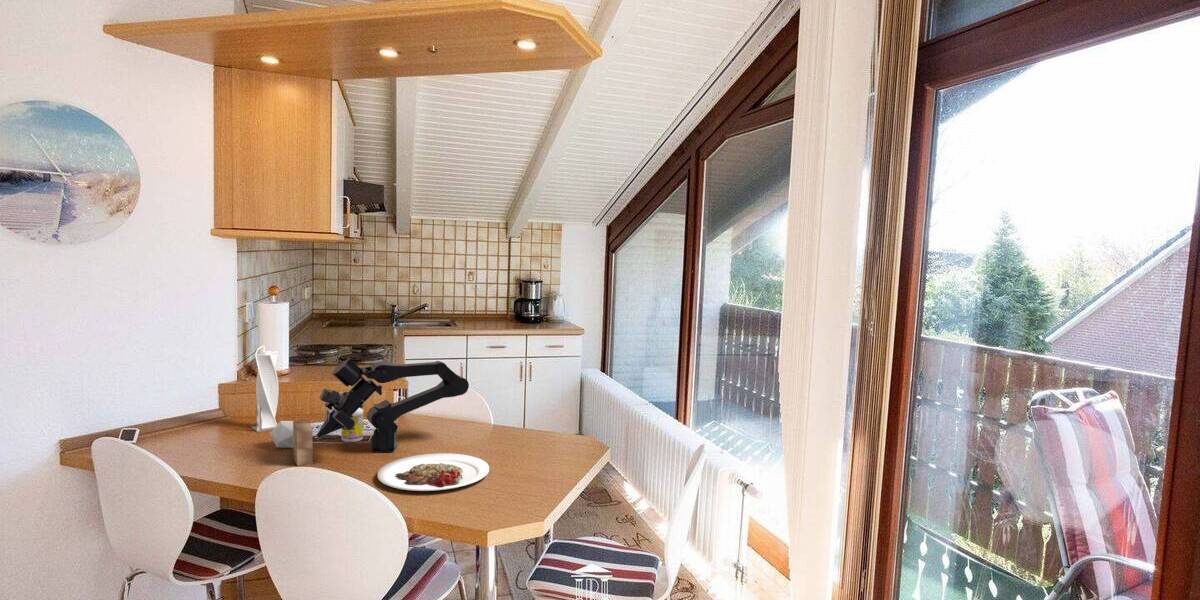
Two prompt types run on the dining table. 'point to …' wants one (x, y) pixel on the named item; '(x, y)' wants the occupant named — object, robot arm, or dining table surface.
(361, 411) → the supplement bottle
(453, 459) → the plated food
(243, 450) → the dining table surface
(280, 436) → the die
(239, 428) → the dining table surface
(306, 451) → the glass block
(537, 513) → the dining table surface
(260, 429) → the skyscraper
